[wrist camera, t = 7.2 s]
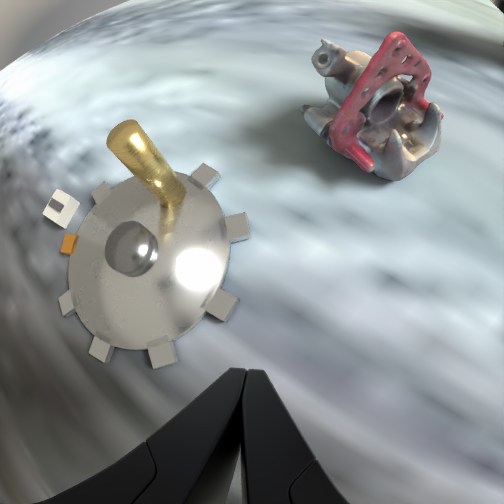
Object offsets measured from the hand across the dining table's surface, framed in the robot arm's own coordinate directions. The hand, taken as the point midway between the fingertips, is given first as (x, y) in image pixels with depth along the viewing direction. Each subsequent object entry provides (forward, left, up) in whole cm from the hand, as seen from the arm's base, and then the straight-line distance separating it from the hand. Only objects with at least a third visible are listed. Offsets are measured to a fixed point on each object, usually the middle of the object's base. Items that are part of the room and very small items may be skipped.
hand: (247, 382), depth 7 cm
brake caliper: (+17, -9, -14) cm, 24 cm away
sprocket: (+9, +11, -13) cm, 20 cm away
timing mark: (+15, +22, -13) cm, 30 cm away
